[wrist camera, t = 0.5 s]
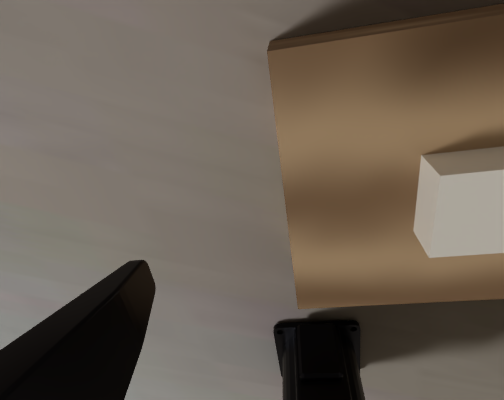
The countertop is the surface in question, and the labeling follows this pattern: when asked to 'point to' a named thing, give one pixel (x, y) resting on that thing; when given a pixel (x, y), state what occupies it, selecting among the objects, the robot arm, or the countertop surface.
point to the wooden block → (383, 152)
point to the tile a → (461, 203)
